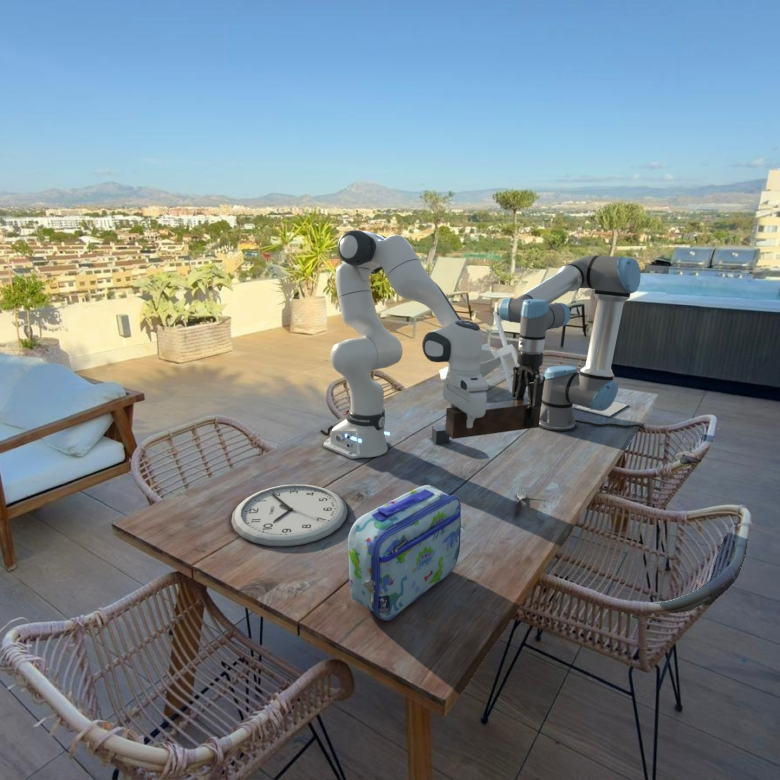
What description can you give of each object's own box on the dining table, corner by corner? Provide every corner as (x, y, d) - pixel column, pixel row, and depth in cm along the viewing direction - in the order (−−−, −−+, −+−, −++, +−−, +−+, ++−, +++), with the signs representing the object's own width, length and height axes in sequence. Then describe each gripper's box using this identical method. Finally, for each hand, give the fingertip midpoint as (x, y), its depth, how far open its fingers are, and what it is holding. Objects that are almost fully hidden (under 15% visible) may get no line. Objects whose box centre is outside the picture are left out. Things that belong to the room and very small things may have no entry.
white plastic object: (461, 429, 252) (437, 405, 227) (444, 352, 274) (420, 323, 250) (535, 404, 240) (518, 377, 215) (510, 326, 262) (492, 293, 237)
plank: (529, 421, 168) (531, 398, 165) (538, 427, 163) (541, 403, 161) (445, 432, 158) (446, 408, 155) (452, 439, 153) (454, 413, 151)
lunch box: (378, 635, 98) (379, 537, 91) (341, 606, 105) (340, 513, 99) (464, 574, 115) (470, 488, 109) (427, 553, 122) (431, 471, 116)
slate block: (444, 437, 190) (445, 425, 189) (449, 443, 185) (450, 430, 184) (431, 438, 189) (432, 425, 187) (435, 444, 184) (436, 431, 183)
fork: (510, 517, 138) (511, 510, 137) (518, 490, 152) (518, 484, 152) (520, 519, 137) (521, 512, 137) (527, 491, 152) (528, 485, 151)
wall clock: (347, 538, 125) (219, 542, 122) (347, 544, 125) (219, 548, 123) (347, 480, 153) (242, 482, 151) (347, 485, 154) (243, 487, 151)
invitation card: (608, 416, 214) (573, 407, 224) (608, 416, 214) (573, 408, 224) (628, 404, 229) (594, 396, 238) (628, 405, 229) (594, 397, 238)
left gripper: (439, 369, 160) (437, 412, 164) (471, 388, 141) (468, 435, 146) (457, 367, 162) (455, 409, 166) (491, 386, 144) (488, 432, 148)
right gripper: (503, 346, 164) (498, 415, 171) (538, 359, 148) (530, 435, 155) (524, 344, 166) (517, 413, 173) (560, 357, 150) (551, 432, 157)
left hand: (461, 422), depth 156 cm, fingers open, 7 cm apart
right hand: (523, 423), depth 164 cm, fingers closed on plank, 5 cm apart
